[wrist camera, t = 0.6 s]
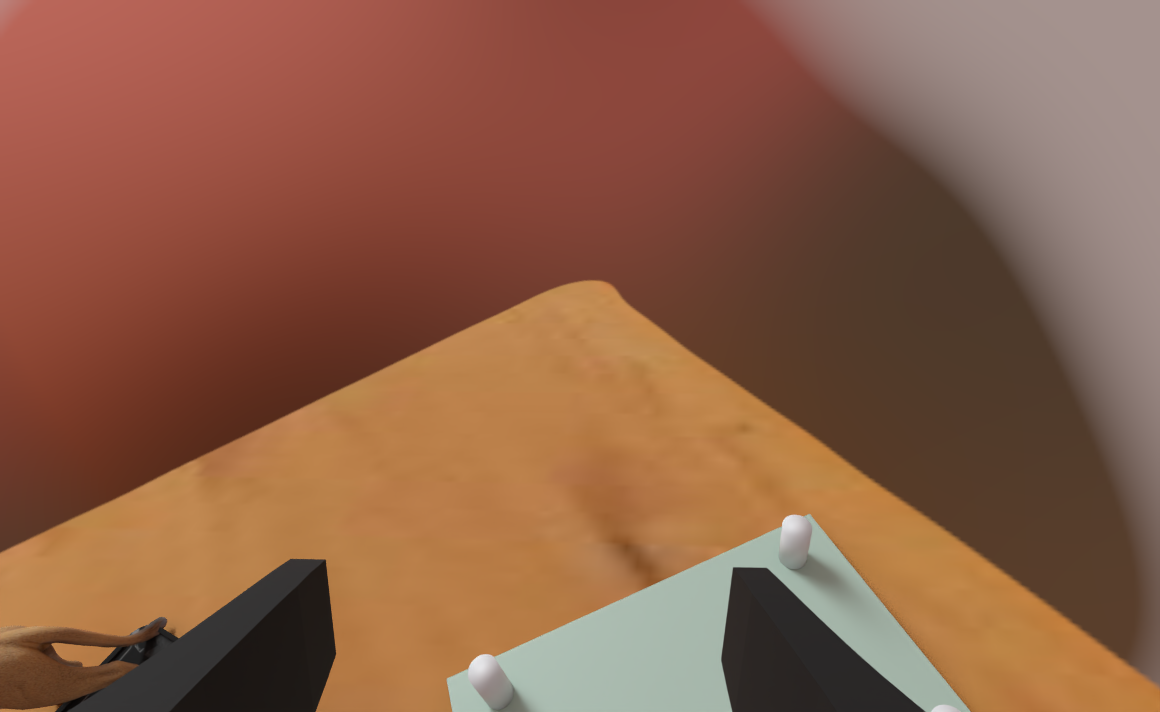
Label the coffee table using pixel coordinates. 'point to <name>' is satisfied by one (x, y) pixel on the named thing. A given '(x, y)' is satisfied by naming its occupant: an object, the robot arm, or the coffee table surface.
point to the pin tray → (695, 639)
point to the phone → (129, 658)
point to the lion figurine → (57, 664)
